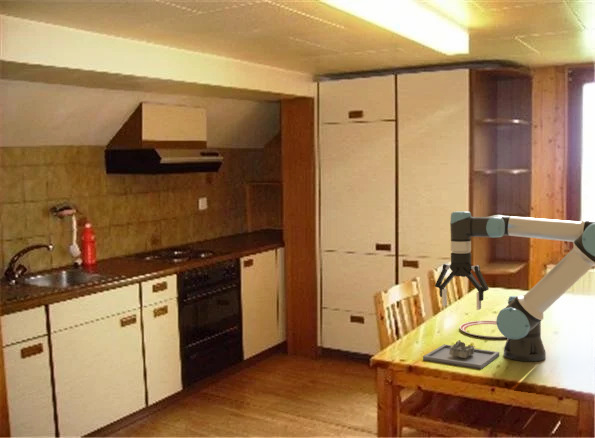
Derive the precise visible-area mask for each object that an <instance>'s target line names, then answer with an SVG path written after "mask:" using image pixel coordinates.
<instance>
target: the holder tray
mask: <svg viewBox="0 0 595 438" xmlns="http://www.w3.org/2000/svg"><path fill="white" fill-rule="evenodd" d="M451 346H453V344H452V345H451V344H442V345H441V346H439V347H437V348H435V349H433V350H431V351H430V352H428V353H426V354H425V355H422V358H423V359H422V360H423V361H427V362H433V363H438V364H446V365H452V366H457V367H458V366H459V367H465V368H469V369H470V368H471V369H477V370H482V369H484V368H485V367H486V366H488V365H489V364H490V363H492V362H493V361H494V360H496V359H497V358H498V357H500V351H494V350H487V349H481V348H474V354H470V356H467V357H466V358H461V357H459V356H452V355H450V354H449V353H450V349H448V348H450V347H451Z"/></svg>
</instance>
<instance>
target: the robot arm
mask: <svg viewBox="0 0 595 438" xmlns="http://www.w3.org/2000/svg"><path fill="white" fill-rule="evenodd" d="M449 225H450V226H449V227H450V252H451V253H450V264H448V263H444V264H442V270H441V272H440V274H439V276H438V279H437V280H436V282H435V283H434V287H435V288H438V289H439V297H440V298H441V306H442V307H446V306H447V304H448V303H447V301H448V298H447V296H448V295H447V294H448V293H447V289H448V288H446V286H448V284H449V283H450V282H451V281H452V280H453V278H455V277H462V278H465V277H466V278H467V279H468V280H469V281H470V282H471V284H472V286H474V288H475V289H476V290H477V291H476V310H477V311H479V310H481V309H482V301H484V292H486V291H488V290H489V287H488V284H487V282H486V280H485V278H484V275H483V274H482V271H481V267H480V265H472V253H471V251H472V238H475V237H476V238H491V239H493V238H501V237H504V236H510V237H512V236H513V237H520V238H528V239H529V238H531V239H539V240H540V239H541V240H549V241H550V240H551V241H560V242H561V241H562V242H569V243H570V242H571V243H572V245H573V248H572V249H571V250H570V251H569V252H568V253H567V254H566V255H565V256H564V257H563V258H562V259H561V260H560V261H559V262H558V263H556V264H555V265H554V266H553V267H552V268H551V269H550V270H549V271H548V272H547V273H546V274H545V275H544V276H543V277H542V278H541V279H540V280H539V281H538V282H537V283H536V284H535V285H533V287H532V288H531V289H529V291H528V292H527V293H525V294H518V295H513V296H509V297H508V301H507V305H506V306H505V307H504V308H502V309H501V310H500V311H499V312H498V314H497V316H496V320H495V321H496V322H497V324H496V327H497V329H498V331H499V332H500V333H501V335H503V336H505V337H507V338H506V342H505V345H504V348H503V356H504V357H506V358H508V359H509V360H515V361H520V362H539V361H543V360H545V359H546V357H547V356H546V353H547V352H546V349H545V346H544V343H543V339H542V334H541V333H542V329H541V326H542V325H541V324H542V323H541V322H542V321H543V320H544V312H546V311H547V310H548V309H549V308H550V307H551V306H552V305H554V303H556V302H557V301H558V300H559V299H560V298H561V297H562V296H563V295H564V294H565V293H566V292H567V291H568V290H569V289H571V288H572V287H573V286H574V285H575V283H577V282H578V281H579V280H581V278H583V276H584V275H586V274H587V273H588V272H589V271H590V270H591V269H592V268H593V267H595V219H587V218H586V219H584V220H582V221H577V220H564V219H563V220H562V219H550V218H539V217H538V218H537V217H536V218H535V217H526V216H513V215H511V216H510V215H503V214H493V215H490V216H489V215H488V216H472V213H471V212H470V211H463V210H459V211H453V212H451V213H450V223H449ZM448 270H451V272H450V273H449V275H448V276H447V277H446V275H447V273H448ZM471 271H473V272H474V273H475V275H476V277H475V276H474V275H473V273H472V272H471ZM445 277H446V278H445ZM444 278H445V280H444ZM476 278H477V279H476Z"/></svg>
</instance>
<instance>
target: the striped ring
mask: <svg viewBox="0 0 595 438" xmlns="http://www.w3.org/2000/svg"><path fill="white" fill-rule="evenodd" d="M475 325H476V326H477V325H497V322H496V320H472V321H468V322H464V323H461V324H460V325H459V329H460V330H461V331H462V332H464V333H466V334H468V335H471V336H473V337H477V336H478V337H477V338H483V337H484V339H485V338H486V339H507V337H505V336H504V335H503V336H502V335H501V336H496V335H495V336H493V335H482V334H476V333H471V332H468V331H467V328H469V327H472V326H475ZM466 331H467V332H466Z"/></svg>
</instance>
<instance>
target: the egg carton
mask: <svg viewBox="0 0 595 438" xmlns="http://www.w3.org/2000/svg"><path fill="white" fill-rule="evenodd" d="M475 348H476V346H474V345H470V344H468V345H466V343H465V342H463V341H461V340H457V341H456V342H455V343H454V344H452V346H451V347H450V348H448V349H450V353H449V354H450V355H452V356H459V357H461V358H466V357H467V356H470V354H474V349H475Z"/></svg>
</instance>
